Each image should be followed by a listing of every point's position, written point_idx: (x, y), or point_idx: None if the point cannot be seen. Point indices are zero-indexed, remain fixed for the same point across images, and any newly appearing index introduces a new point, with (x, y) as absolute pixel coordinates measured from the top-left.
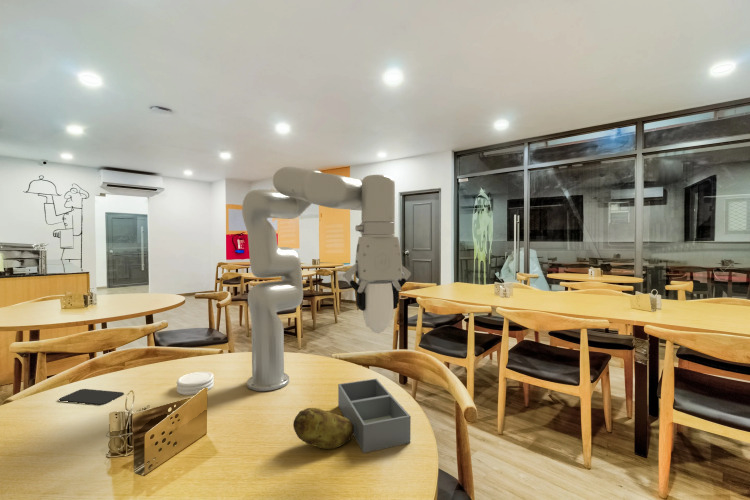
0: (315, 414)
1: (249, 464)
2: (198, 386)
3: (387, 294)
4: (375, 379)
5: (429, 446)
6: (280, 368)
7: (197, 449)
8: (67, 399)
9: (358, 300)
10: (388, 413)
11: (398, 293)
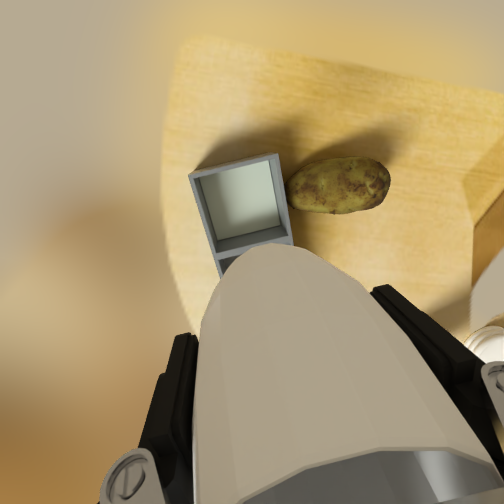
0: (362, 179)
1: (425, 146)
2: (489, 335)
3: (255, 346)
4: None
5: (163, 156)
6: None
7: (485, 190)
8: None
9: (444, 329)
10: (220, 241)
11: (145, 434)
